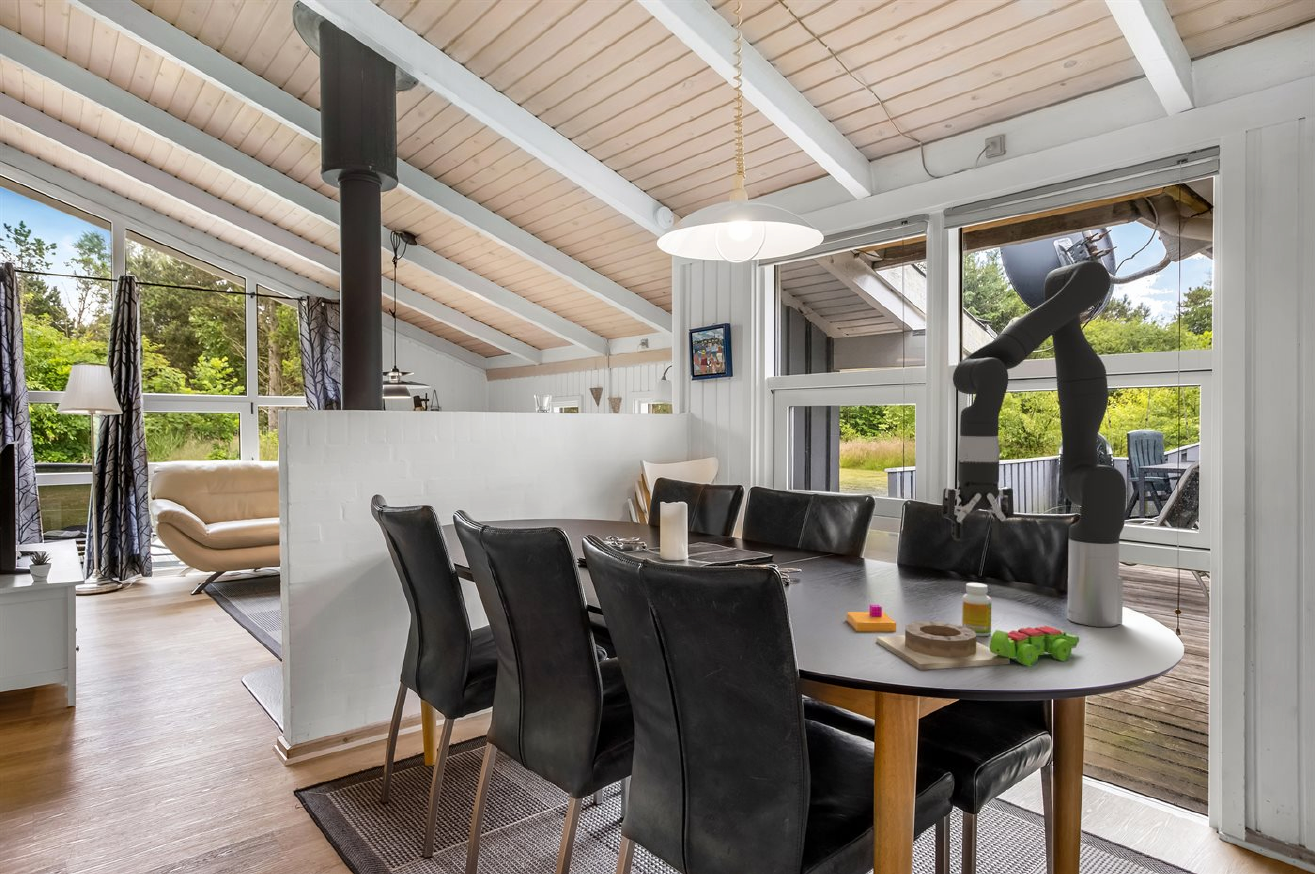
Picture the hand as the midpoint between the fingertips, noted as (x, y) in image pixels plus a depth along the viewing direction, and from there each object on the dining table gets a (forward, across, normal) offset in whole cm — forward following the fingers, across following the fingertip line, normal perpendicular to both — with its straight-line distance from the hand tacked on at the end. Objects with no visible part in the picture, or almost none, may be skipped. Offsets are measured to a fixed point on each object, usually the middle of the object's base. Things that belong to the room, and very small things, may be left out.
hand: (977, 539), depth 148 cm
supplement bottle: (+19, 0, 0) cm, 19 cm away
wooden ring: (+18, +14, +10) cm, 25 cm away
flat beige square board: (+19, +14, +10) cm, 25 cm away
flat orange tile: (+20, +18, -9) cm, 28 cm away
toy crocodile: (+19, -1, +16) cm, 25 cm away
